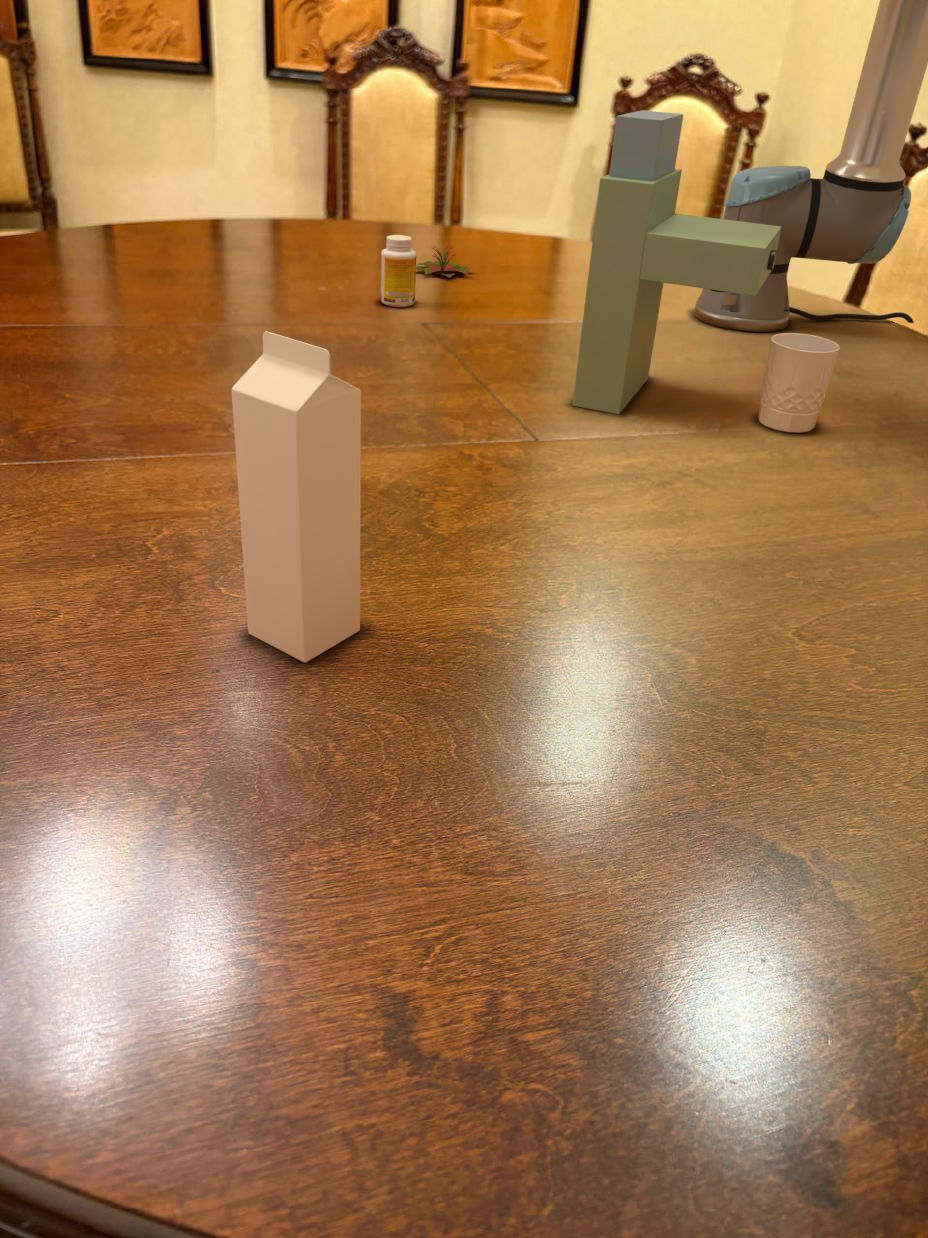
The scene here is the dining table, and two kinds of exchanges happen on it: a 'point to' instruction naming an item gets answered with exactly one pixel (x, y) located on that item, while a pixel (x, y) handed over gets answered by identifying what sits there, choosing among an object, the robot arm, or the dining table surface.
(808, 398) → the beige cup
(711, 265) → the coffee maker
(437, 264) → the green leafy plant
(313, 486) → the milk
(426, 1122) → the dining table surface
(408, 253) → the supplement bottle
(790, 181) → the robot arm
